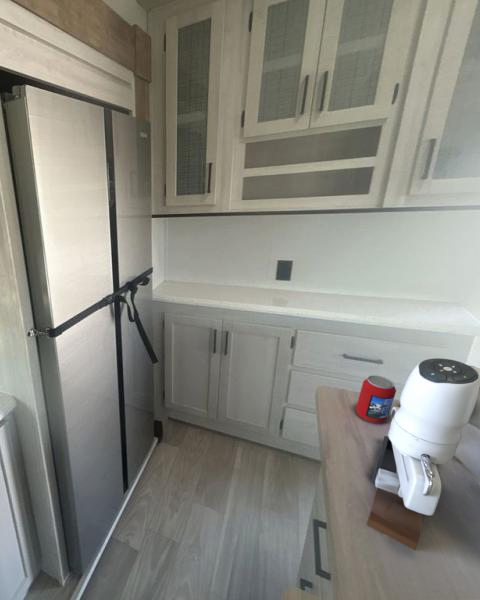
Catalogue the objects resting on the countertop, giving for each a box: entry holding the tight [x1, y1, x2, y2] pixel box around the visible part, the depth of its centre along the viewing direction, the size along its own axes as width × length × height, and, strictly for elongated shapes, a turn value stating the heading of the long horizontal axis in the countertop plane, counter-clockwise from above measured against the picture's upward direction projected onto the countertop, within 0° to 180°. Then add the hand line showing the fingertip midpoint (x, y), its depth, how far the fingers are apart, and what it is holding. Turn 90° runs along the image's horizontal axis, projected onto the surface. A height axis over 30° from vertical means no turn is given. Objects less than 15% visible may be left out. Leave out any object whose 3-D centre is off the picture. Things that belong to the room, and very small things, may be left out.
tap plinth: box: [366, 486, 424, 551], centre depth 67 cm, size 11×7×4 cm, turn 133°
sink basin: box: [370, 435, 397, 485], centre depth 75 cm, size 14×9×4 cm, turn 133°
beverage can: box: [355, 375, 397, 424], centre depth 90 cm, size 7×7×12 cm
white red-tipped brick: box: [374, 468, 400, 495], centre depth 67 cm, size 8×2×4 cm, turn 55°
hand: (401, 489), depth 68 cm, fingers closed on white red-tipped brick, 2 cm apart
